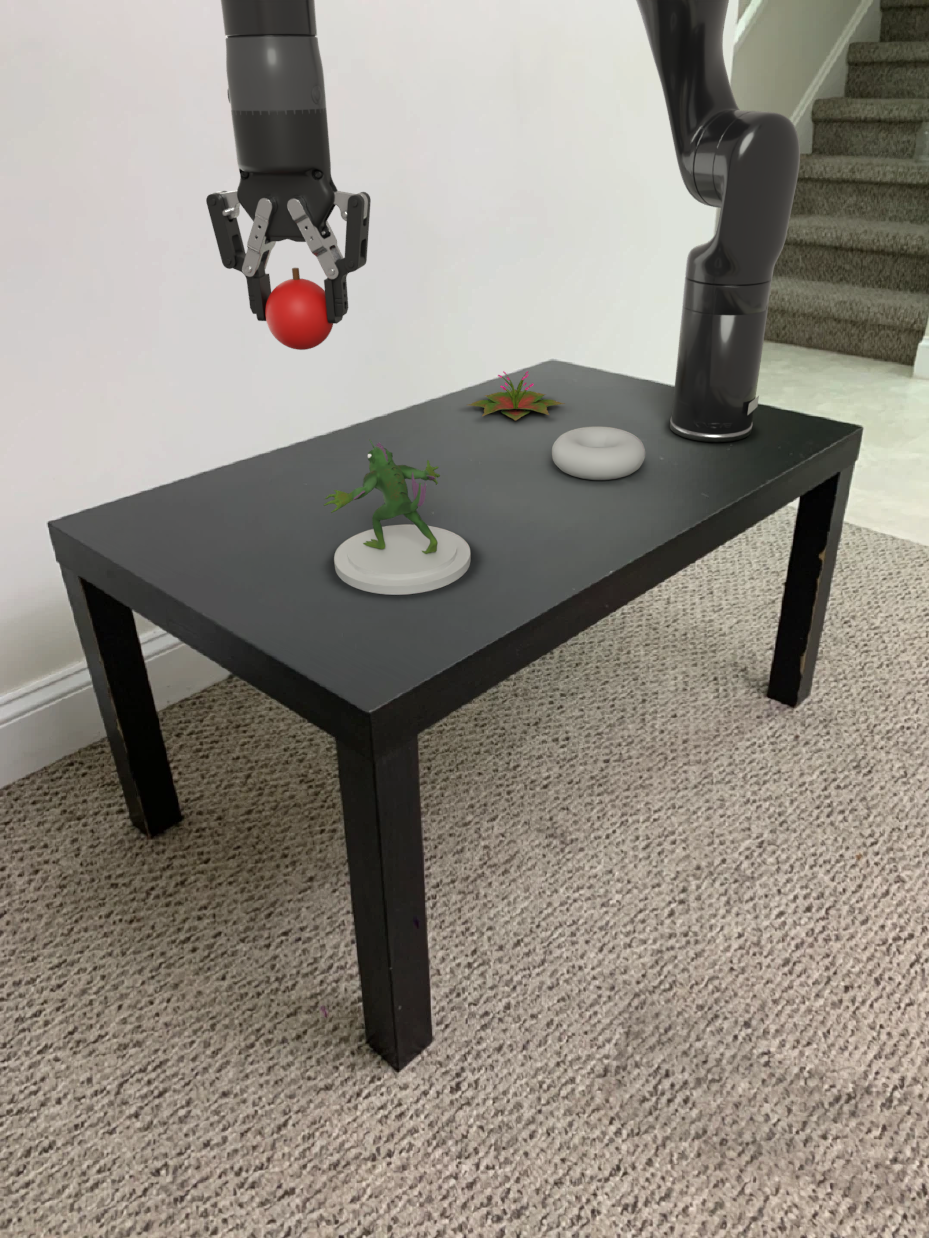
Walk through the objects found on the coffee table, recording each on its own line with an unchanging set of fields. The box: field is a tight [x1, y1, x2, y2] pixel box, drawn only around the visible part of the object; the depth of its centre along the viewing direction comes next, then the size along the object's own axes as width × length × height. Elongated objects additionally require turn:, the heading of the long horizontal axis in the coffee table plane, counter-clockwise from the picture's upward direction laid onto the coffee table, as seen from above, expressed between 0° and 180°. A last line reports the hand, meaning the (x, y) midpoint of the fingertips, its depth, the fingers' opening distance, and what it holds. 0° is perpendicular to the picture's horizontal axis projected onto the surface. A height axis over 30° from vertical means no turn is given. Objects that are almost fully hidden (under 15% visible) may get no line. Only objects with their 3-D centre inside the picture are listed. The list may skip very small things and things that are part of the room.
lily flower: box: [467, 370, 566, 421], centre depth 118 cm, size 12×12×5 cm
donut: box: [551, 426, 646, 481], centre depth 101 cm, size 10×4×10 cm
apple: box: [265, 267, 334, 351], centre depth 83 cm, size 6×6×7 cm
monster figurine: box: [323, 438, 472, 596], centre depth 81 cm, size 12×12×10 cm
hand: (300, 319), depth 83 cm, fingers closed on apple, 6 cm apart
